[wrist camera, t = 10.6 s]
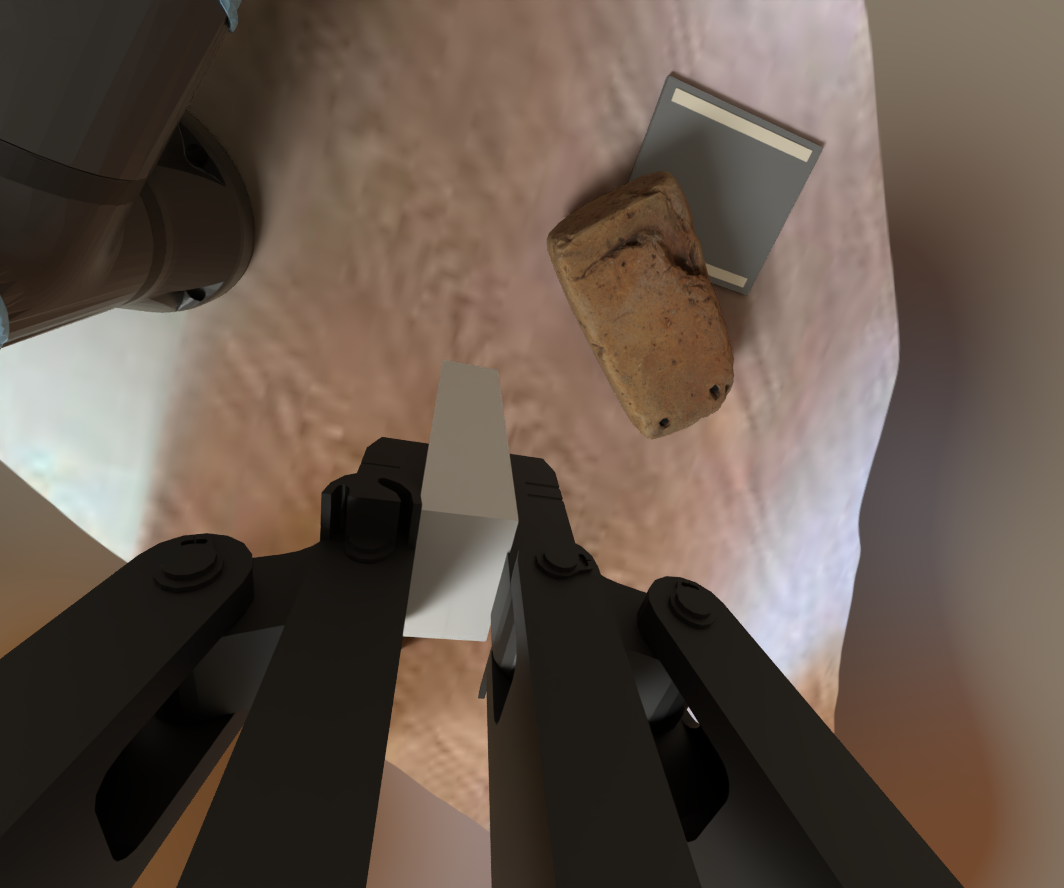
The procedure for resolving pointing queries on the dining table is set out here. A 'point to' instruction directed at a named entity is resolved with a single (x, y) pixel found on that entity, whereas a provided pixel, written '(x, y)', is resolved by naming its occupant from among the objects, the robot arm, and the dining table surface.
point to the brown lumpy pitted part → (646, 302)
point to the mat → (727, 176)
